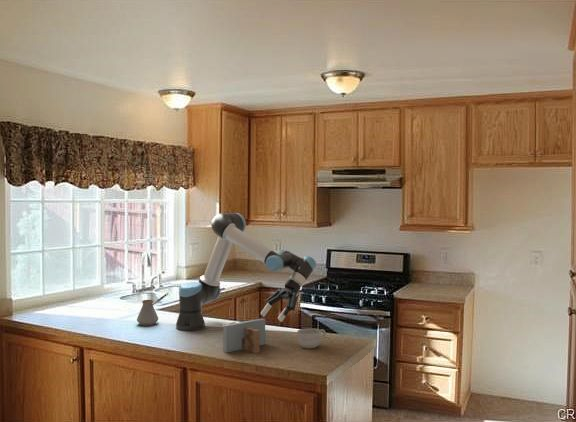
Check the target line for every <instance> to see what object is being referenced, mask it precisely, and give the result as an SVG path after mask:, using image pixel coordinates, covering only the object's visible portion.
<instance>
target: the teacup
mask: <svg viewBox="0 0 576 422" xmlns="http://www.w3.org/2000/svg"><path fill="white" fill-rule="evenodd" d="M321 333H323V334H322V335H321ZM326 335H327V332H326V330H325V329H319V328H313V327H312V328H301V329H298V330H297V342H298V344H299V346H300V347H301V348H302V349H315V348H317V347H318V346H320V343H321V341H322V340H323V339H324V338H325V337H326Z"/></svg>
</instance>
